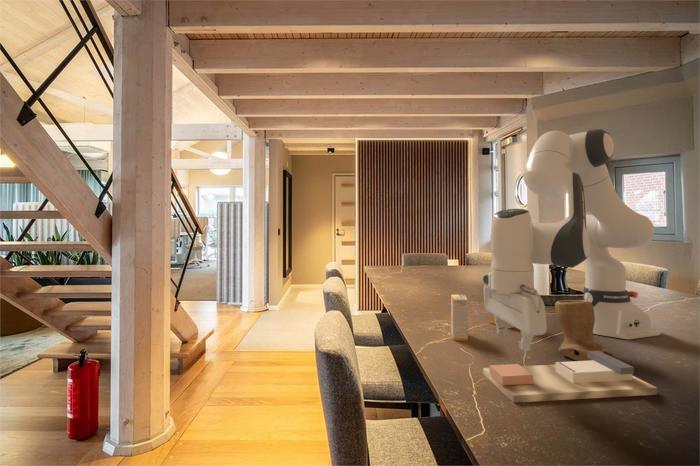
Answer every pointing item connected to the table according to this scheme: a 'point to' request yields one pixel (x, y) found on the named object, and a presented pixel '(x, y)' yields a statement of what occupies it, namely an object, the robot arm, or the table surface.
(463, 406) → the table surface
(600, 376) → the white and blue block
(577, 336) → the brown suede boot
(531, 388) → the holder board
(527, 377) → the pink flat block
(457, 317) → the supplement box
